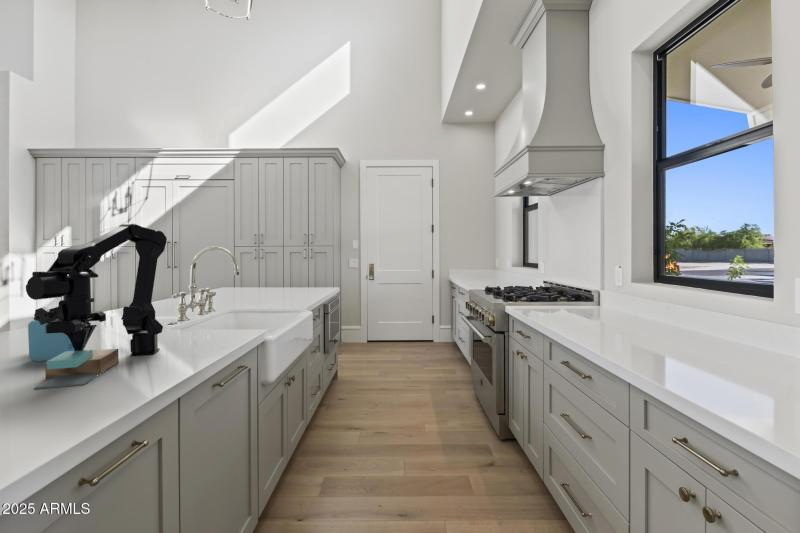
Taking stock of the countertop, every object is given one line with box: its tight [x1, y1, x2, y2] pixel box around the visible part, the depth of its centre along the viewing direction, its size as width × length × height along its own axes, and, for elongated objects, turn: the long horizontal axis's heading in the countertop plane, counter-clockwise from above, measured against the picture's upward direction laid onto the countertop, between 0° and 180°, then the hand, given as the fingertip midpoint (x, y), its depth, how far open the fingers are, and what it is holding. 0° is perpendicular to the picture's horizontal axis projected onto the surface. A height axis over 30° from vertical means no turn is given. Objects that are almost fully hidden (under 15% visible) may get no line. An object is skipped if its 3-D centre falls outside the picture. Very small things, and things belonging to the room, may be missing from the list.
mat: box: [33, 373, 101, 390], centre depth 100 cm, size 10×10×1 cm
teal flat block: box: [46, 349, 93, 369], centre depth 102 cm, size 6×9×2 cm, turn 17°
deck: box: [44, 348, 120, 379], centre depth 109 cm, size 12×12×4 cm
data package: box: [27, 319, 75, 362], centre depth 120 cm, size 12×4×12 cm, turn 89°
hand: (79, 353), depth 107 cm, fingers closed
